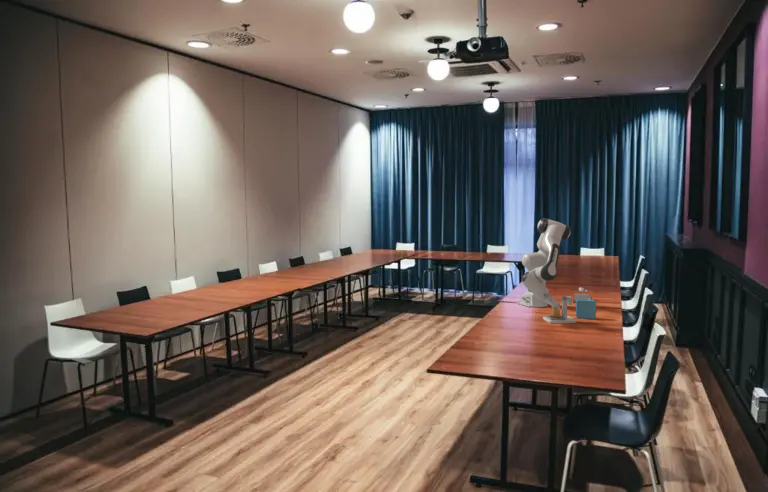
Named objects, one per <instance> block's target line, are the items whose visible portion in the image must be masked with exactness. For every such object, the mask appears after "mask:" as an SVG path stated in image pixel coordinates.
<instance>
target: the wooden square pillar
mask: <svg viewBox="0 0 768 492" xmlns="http://www.w3.org/2000/svg"><path fill="white" fill-rule="evenodd" d="M558 303H559V302H558ZM558 306H559V307H560V308H561V303H559V304H558ZM550 315H551V318H560V315H561V309H560V310H558V309H557V308H556V307H553V306H551V314H550Z"/></svg>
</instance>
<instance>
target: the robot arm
mask: <svg viewBox="0 0 768 492" xmlns="http://www.w3.org/2000/svg"><path fill="white" fill-rule="evenodd" d="M536 229H537V232H539V233H540V236H539V238H538V240H537V243H536V246H537V248H538V251H537V252H536V251H535V252H528V253H526V254H523V255H522V257H521V264H522V266H523V267H525V269H526V270H527V271H526V272H525V273H523V274H522V277H521V282H522V284H523V285H524V286H525V288H526V291H525V292H523V294H522V295H520V300H519V301H517V302H516V304H517V305H521V306H524V307H528V308H545V307H548V306H549V305H550V306H551V307H552V306H553V307H556V308H557V309H558V310H560V311H561V310H562V307H561V306H560V307H559V306H558V304H559V302H558V301H557V300H556V299H555V298H554V297H553V296H552V295H550V290H549V289H548V288H547V286H546V283H547V281H554V280H555V278H556V277H557V274H558V273H557V272H558V262H559V256H560V251H561V250H560V248H561V247H560V244H561V241H566V240H567V239H569V237H570V236H571V227H570V226H569V225H566V224H564V223H562V222H560V221H556V220H552V219H550V218H545V217H542V218H541V219H540V220H539V221H538V222H537V228H536Z"/></svg>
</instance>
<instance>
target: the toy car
mask: <svg viewBox="0 0 768 492" xmlns="http://www.w3.org/2000/svg"><path fill="white" fill-rule="evenodd" d="M578 291H579V292H580V293H574V298H572V304H576V300H577V299H589V300H593V299H592V298H593V297H592V296H590V294H587V292H588V290H587V289H585V288H584V287H579V288H578ZM582 292H584V293H582Z"/></svg>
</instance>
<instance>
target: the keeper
mask: <svg viewBox="0 0 768 492" xmlns="http://www.w3.org/2000/svg"><path fill="white" fill-rule="evenodd" d="M572 305H573V297H572V295H569V296H561V314H560V318H551V314H549V315H545V316H542V319H543V320H544V321H545V322H547V323H548V322H549V324H550V323H551V324H575V323H577V320H576V319H575V318H573V317H571V316H570V315H568V306H572Z"/></svg>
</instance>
